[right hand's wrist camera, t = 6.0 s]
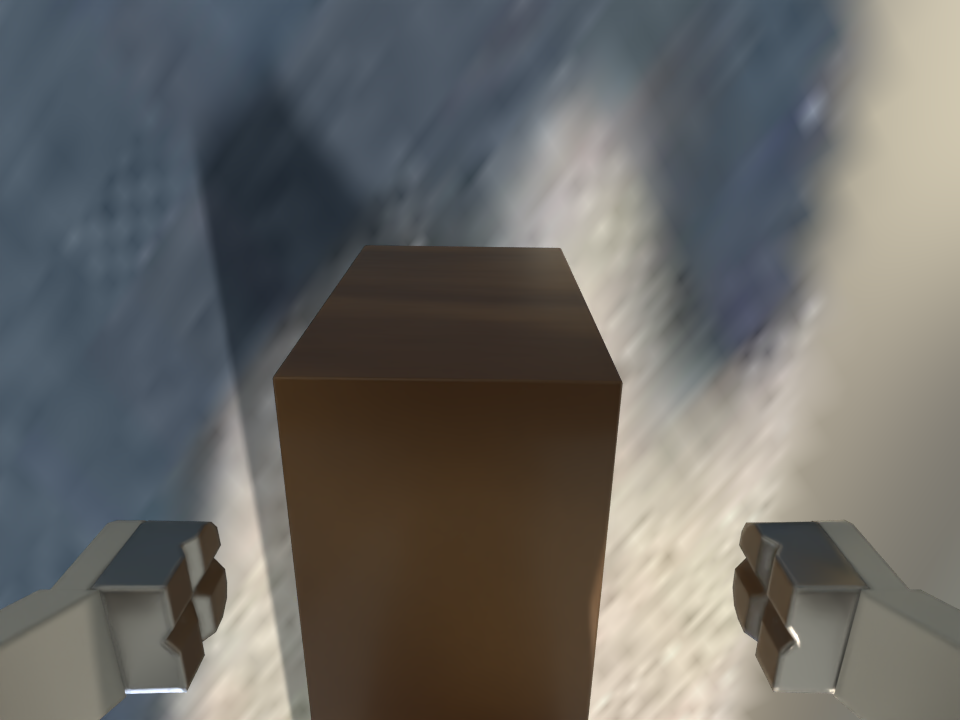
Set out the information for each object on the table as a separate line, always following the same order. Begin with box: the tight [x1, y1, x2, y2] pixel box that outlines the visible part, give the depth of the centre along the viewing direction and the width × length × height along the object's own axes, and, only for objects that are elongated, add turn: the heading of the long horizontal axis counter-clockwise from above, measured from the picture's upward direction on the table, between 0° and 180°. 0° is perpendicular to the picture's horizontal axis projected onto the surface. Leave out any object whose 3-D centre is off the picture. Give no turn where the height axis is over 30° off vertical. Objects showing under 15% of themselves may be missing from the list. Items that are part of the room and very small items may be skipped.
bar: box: [273, 245, 623, 720], centre depth 19 cm, size 22×5×9 cm, turn 179°
